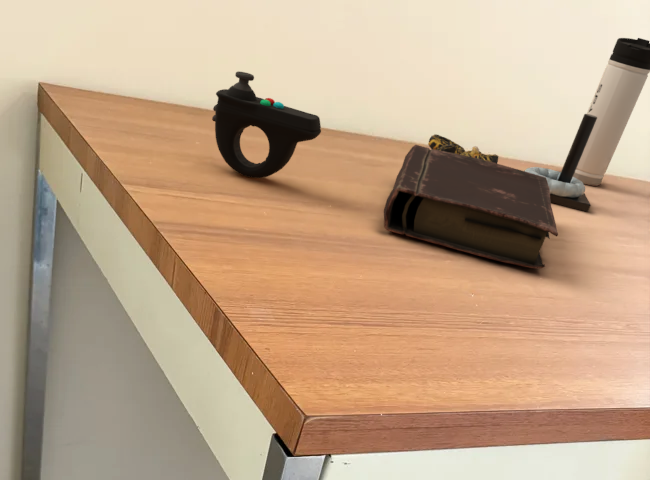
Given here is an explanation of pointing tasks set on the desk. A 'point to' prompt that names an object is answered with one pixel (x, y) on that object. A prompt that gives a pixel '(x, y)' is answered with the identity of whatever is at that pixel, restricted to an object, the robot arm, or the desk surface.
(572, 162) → the stand
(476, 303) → the desk surface
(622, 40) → the travel mug
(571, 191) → the ring
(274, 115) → the controller
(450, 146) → the toy snake
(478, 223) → the diary
